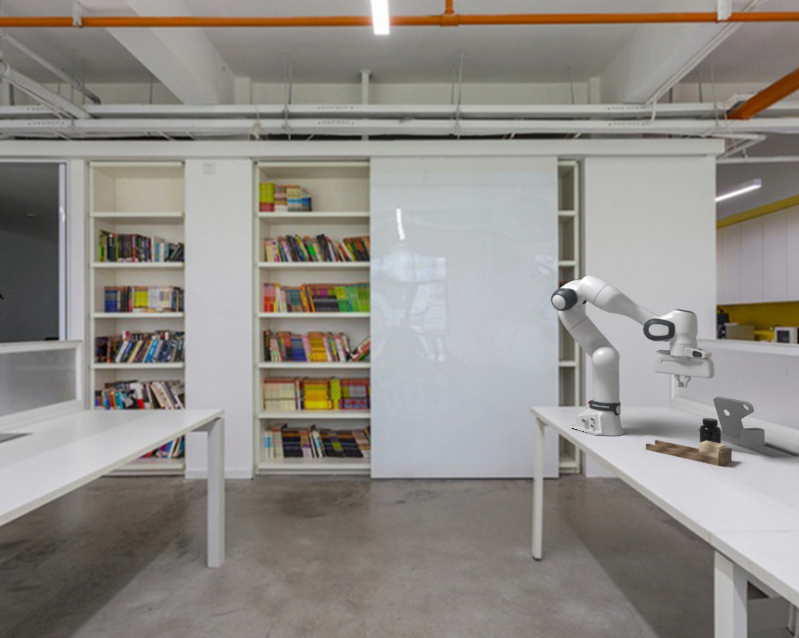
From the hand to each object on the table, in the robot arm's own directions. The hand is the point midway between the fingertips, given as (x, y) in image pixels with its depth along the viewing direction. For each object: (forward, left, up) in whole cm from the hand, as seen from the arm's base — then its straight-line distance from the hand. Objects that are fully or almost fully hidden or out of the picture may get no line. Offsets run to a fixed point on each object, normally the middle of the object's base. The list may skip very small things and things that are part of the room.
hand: (682, 387), depth 174 cm
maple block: (+12, -8, -24) cm, 28 cm away
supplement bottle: (+5, +12, -25) cm, 29 cm away
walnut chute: (+4, -8, -25) cm, 27 cm away
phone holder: (+8, +37, -25) cm, 45 cm away
